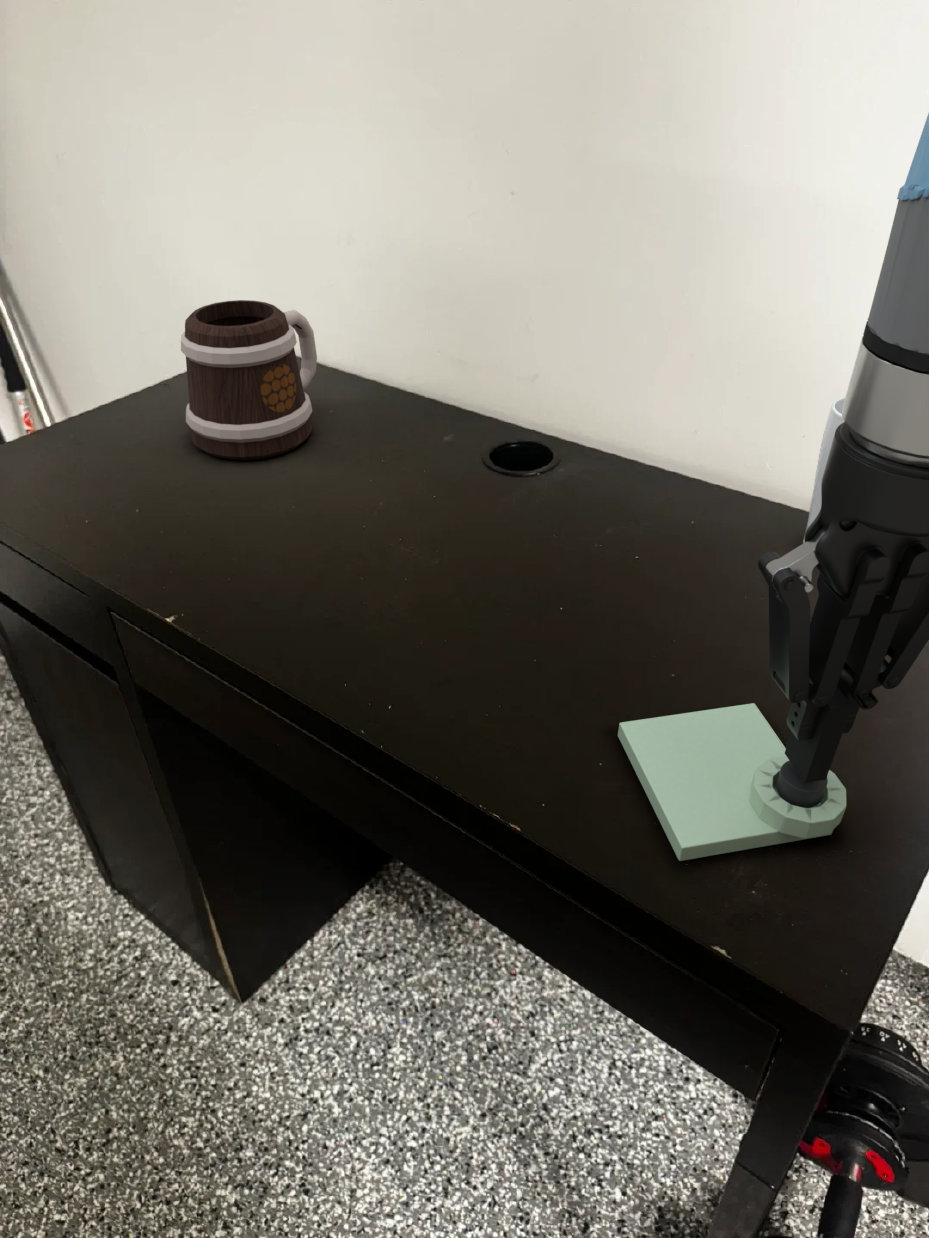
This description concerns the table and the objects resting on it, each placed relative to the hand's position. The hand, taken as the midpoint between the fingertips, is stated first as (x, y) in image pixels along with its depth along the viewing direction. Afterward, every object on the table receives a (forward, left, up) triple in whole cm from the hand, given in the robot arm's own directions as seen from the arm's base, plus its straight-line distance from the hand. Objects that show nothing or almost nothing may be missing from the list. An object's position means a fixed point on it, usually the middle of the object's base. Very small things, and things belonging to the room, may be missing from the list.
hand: (804, 765), depth 59 cm
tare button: (0, 0, -2) cm, 2 cm away
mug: (+70, +33, -5) cm, 78 cm away
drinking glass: (+30, -21, -5) cm, 37 cm away
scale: (+4, +3, -5) cm, 7 cm away
